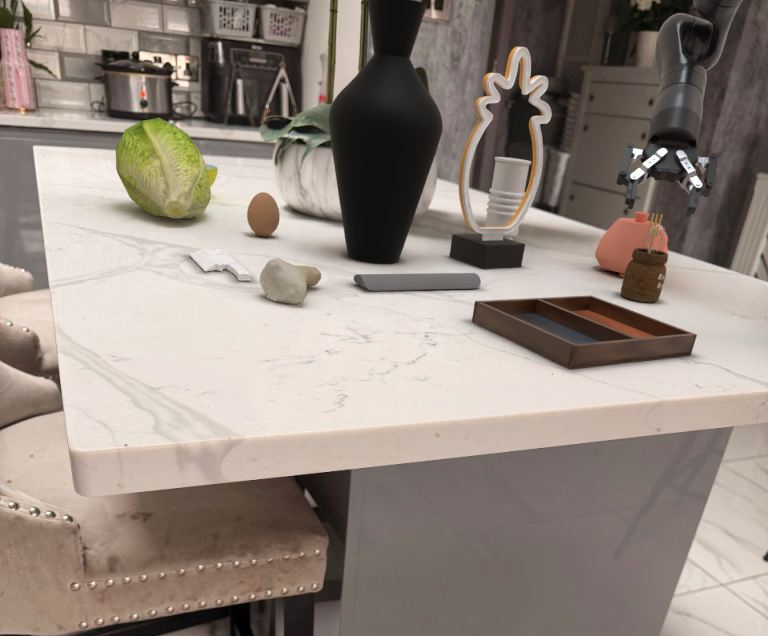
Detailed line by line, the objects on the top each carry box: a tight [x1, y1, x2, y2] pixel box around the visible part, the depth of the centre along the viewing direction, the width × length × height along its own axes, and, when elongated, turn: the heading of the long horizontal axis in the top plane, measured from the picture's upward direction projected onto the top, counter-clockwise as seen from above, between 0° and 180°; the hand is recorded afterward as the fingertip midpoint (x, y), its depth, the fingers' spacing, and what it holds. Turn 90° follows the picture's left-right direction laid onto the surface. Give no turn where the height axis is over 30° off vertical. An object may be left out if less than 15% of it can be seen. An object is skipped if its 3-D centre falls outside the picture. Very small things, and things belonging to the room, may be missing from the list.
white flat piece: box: [188, 247, 252, 281], centre depth 106 cm, size 5×15×1 cm, turn 24°
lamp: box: [449, 46, 553, 270], centre depth 123 cm, size 17×9×32 cm, turn 125°
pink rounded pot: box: [594, 211, 669, 278], centre depth 132 cm, size 12×14×10 cm
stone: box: [259, 257, 322, 305], centre depth 97 cm, size 11×6×5 cm, turn 173°
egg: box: [246, 191, 281, 237], centre depth 128 cm, size 5×5×7 cm
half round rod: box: [353, 272, 482, 292], centre depth 109 cm, size 4×20×2 cm, turn 118°
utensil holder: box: [620, 212, 669, 304], centre depth 115 cm, size 6×6×12 cm
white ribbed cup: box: [483, 156, 532, 241], centre depth 145 cm, size 7×7×15 cm
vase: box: [328, 0, 444, 265], centre depth 115 cm, size 17×17×35 cm
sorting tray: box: [471, 294, 698, 370], centre depth 93 cm, size 20×18×3 cm
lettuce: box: [115, 117, 212, 219], centre depth 134 cm, size 15×25×16 cm
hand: (659, 209), depth 115 cm, fingers open, 8 cm apart
